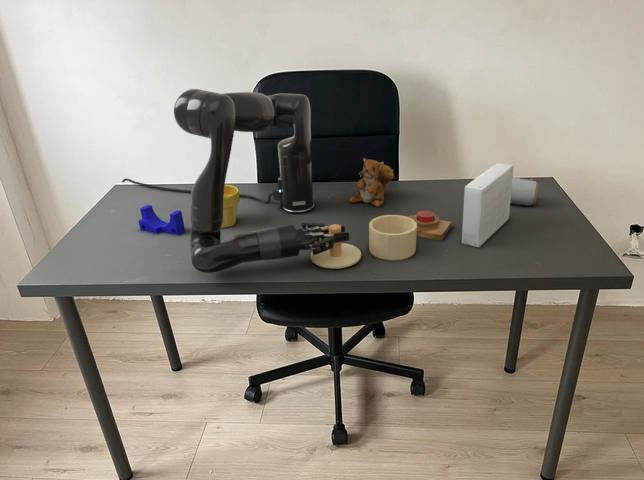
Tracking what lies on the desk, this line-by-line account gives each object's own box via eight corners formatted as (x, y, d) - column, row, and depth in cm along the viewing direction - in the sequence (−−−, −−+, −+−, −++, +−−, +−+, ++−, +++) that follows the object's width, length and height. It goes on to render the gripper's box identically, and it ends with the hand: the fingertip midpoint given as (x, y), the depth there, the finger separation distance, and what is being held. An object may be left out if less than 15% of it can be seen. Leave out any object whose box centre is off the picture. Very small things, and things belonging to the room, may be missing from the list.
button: (415, 221, 146) (415, 215, 145) (420, 215, 150) (420, 209, 149) (430, 224, 145) (431, 218, 144) (435, 218, 148) (436, 212, 147)
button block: (398, 233, 147) (398, 221, 146) (410, 220, 154) (410, 208, 153) (441, 240, 143) (442, 228, 141) (451, 227, 150) (452, 215, 148)
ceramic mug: (535, 209, 159) (539, 184, 155) (506, 206, 161) (509, 182, 157) (536, 197, 167) (540, 173, 164) (509, 194, 170) (512, 170, 166)
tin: (361, 254, 137) (361, 229, 134) (380, 235, 146) (380, 211, 143) (406, 264, 132) (406, 238, 129) (421, 243, 142) (423, 219, 138)
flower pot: (249, 218, 158) (245, 186, 153) (231, 232, 150) (226, 199, 145) (218, 213, 161) (213, 182, 156) (198, 228, 153) (193, 195, 148)
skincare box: (490, 215, 156) (497, 161, 148) (509, 219, 153) (516, 165, 146) (458, 243, 141) (464, 185, 134) (478, 248, 139) (485, 189, 131)
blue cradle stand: (140, 230, 153) (136, 210, 150) (151, 224, 156) (147, 204, 153) (174, 237, 148) (170, 217, 145) (185, 230, 152) (181, 211, 149)
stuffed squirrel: (347, 203, 166) (346, 161, 159) (370, 188, 176) (370, 149, 170) (376, 210, 161) (376, 167, 155) (397, 194, 172) (398, 153, 165)
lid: (301, 264, 133) (299, 232, 129) (325, 243, 143) (324, 212, 139) (347, 275, 128) (346, 242, 124) (369, 252, 138) (369, 220, 134)
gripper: (280, 241, 121) (354, 230, 125) (270, 217, 133) (338, 207, 137) (283, 270, 125) (355, 259, 129) (273, 244, 137) (339, 234, 141)
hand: (346, 232), depth 133 cm, fingers closed on lid, 3 cm apart
